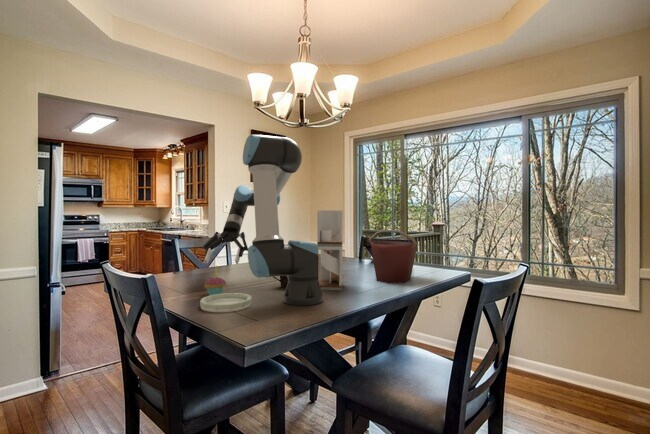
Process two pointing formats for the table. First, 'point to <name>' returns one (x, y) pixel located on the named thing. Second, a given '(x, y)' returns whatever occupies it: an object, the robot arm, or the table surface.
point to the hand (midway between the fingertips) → (221, 262)
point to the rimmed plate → (225, 302)
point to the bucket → (393, 259)
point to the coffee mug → (283, 281)
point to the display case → (330, 247)
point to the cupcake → (215, 284)
